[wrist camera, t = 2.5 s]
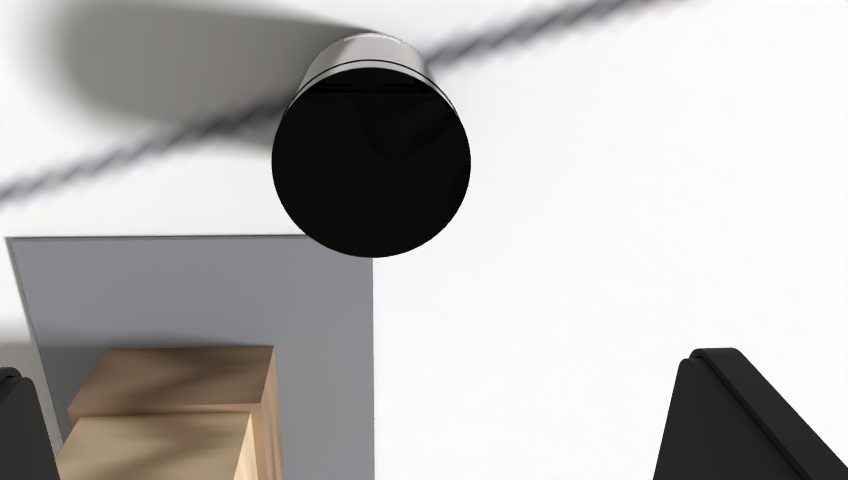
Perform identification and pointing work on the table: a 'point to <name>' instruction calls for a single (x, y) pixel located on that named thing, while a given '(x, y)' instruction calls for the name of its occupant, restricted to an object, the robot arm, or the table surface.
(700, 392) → the robot arm
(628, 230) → the table surface
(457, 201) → the supplement container
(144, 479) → the tower top
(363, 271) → the felt pad
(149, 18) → the table surface
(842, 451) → the table surface
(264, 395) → the tower base
